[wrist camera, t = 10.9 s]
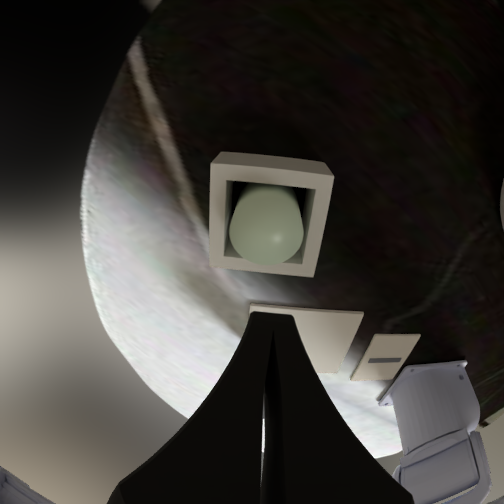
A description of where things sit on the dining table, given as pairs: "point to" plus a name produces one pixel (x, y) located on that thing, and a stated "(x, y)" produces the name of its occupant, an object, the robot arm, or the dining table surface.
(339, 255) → the dining table surface
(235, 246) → the plunger
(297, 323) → the paper
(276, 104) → the dining table surface
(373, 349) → the card
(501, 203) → the ramekin
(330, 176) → the button collar
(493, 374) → the dining table surface
